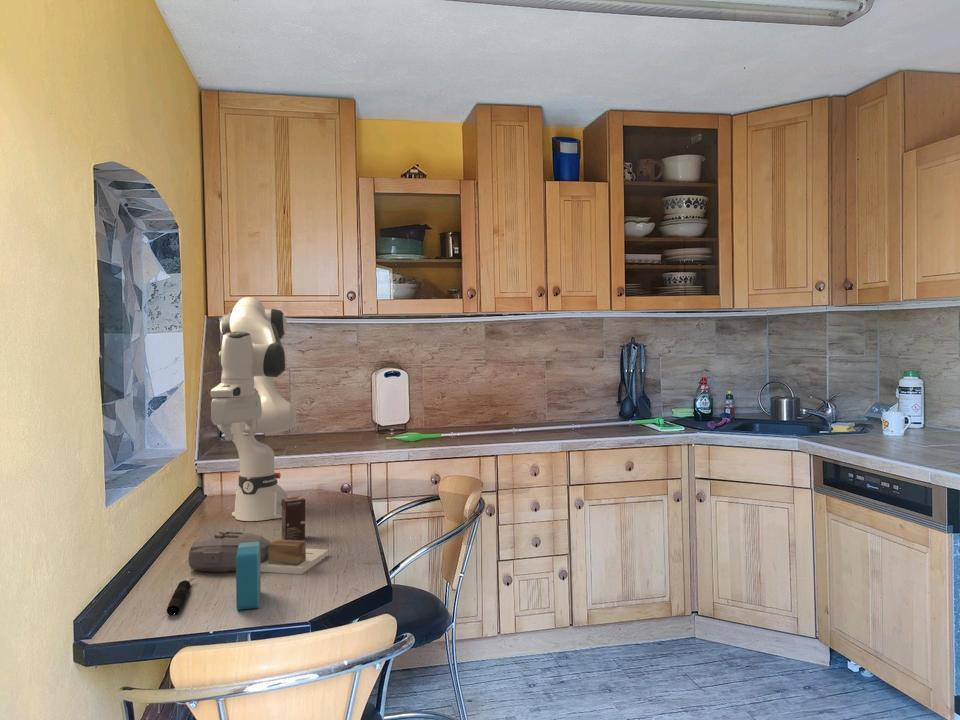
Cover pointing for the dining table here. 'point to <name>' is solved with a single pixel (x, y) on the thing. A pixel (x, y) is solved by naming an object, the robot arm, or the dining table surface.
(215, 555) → the grey rounded bag
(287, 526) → the box
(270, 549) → the block
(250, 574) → the teal arch block
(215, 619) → the dining table surface
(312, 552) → the board
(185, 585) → the utility knife
